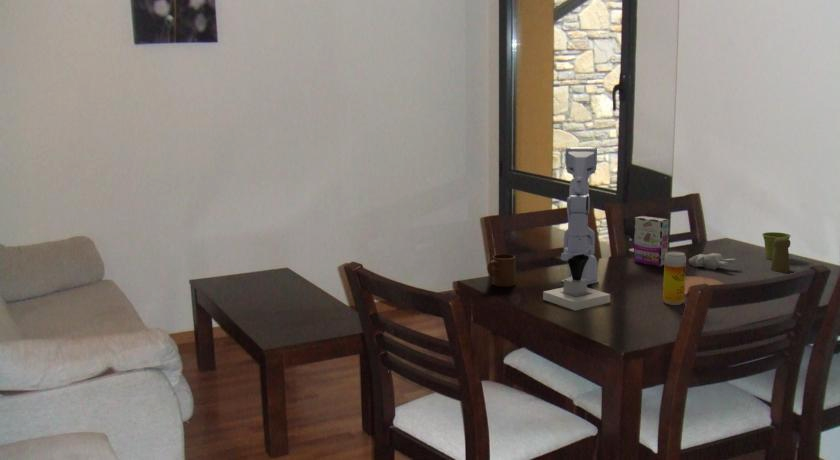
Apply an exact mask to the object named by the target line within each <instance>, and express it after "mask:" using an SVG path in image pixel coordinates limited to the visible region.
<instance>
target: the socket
mask: <svg viewBox="0 0 840 460" xmlns="http://www.w3.org/2000/svg"><path fill="white" fill-rule="evenodd" d="M563 289H564V286H562V287H559V288H554V289H550V290H543V291H542V300H543V301H547V302H549V303H552V304H556V305H558V306H560V307H563V308H567V309H569V310H572V311H579V310H584V309H589V308H592V307H596V306H601V305H605V304H609V303H611V294H610V293H607V292H603V291H600V290H597V289H594V288H590V287H588V286H587V293H586V294H584V296H581V297H573V296H569V295H567V294H563Z"/></svg>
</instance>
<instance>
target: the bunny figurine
mask: <svg viewBox="0 0 840 460" xmlns="http://www.w3.org/2000/svg"><path fill="white" fill-rule="evenodd" d="M730 263H738V262H737V258H723V257H722V254H721V253H716V252H712V253H709V254H704V253H699V254H697V255H694V256H691V257H690V258H688V264H690V265H691V266H692V267H695V268H699V267H701V268H704V269H706V270H715V271H716V270H717V269H721V268H720V267H728V266H729V265H730Z"/></svg>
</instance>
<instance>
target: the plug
mask: <svg viewBox="0 0 840 460" xmlns="http://www.w3.org/2000/svg"><path fill="white" fill-rule="evenodd" d="M563 280H564V282H563V287H564V289H563V294H567V295H569V296H573V297H581V296H584V294H586V293H587V287H588V285H587V279H584V278H581V280H573V278H572V276H571V277H569V278H567V277H566V278H564V279H563Z"/></svg>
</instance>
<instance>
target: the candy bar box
mask: <svg viewBox="0 0 840 460" xmlns="http://www.w3.org/2000/svg"><path fill="white" fill-rule="evenodd" d="M669 230H670V219H669V218H663V217H662V218H661V217H654V216H646V215H639V216H635V217H634V237H633V238H634V239H633V263H636V262H637V264H642V263H643V264H642V265H647V264H648V266H654V267H659V268H661V267H664V260H665V255H666V253H667V252H669Z"/></svg>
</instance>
